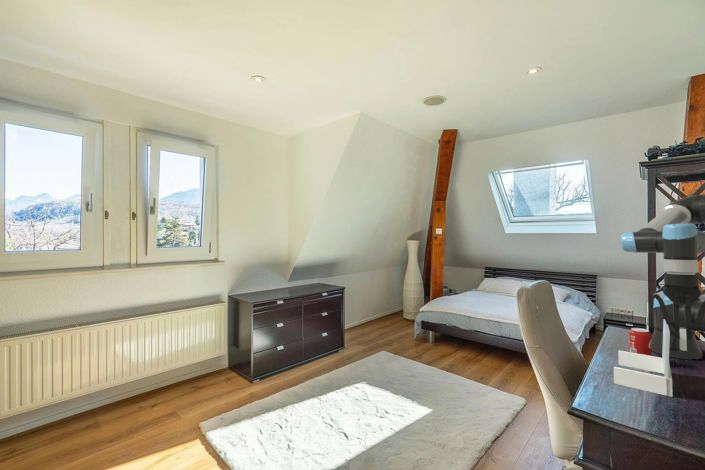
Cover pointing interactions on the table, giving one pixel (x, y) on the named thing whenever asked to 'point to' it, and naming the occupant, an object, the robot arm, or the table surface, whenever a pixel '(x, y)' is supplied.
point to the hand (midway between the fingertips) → (683, 349)
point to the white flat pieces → (639, 378)
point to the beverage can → (640, 341)
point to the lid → (665, 348)
